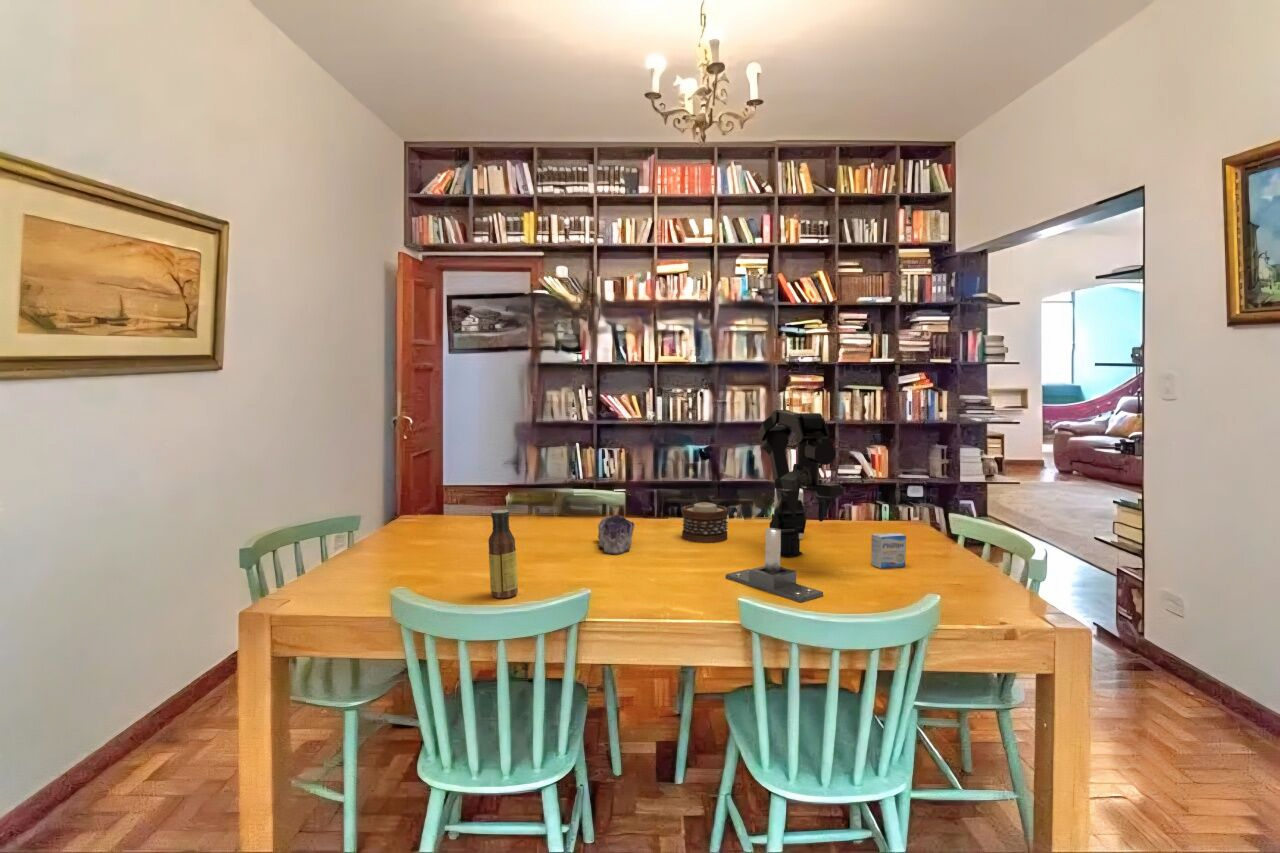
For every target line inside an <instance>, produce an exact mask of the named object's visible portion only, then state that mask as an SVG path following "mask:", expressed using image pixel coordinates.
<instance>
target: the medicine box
mask: <svg viewBox="0 0 1280 853" xmlns="http://www.w3.org/2000/svg"><path fill="white" fill-rule="evenodd" d="M870 547H871V548H870V549H871V553H870V564H871V566H873V567H875V568H877V567H878V568H877V569H880V570H886V569H885V568H887V569H897V568H905V567H906V558H907V557H906V556H907V555H906V554H907V536H906V534H903V533H900V532H888V533H887V532H885V533H871V546H870Z"/></svg>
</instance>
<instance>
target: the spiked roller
mask: <svg viewBox="0 0 1280 853" xmlns="http://www.w3.org/2000/svg"><path fill="white" fill-rule="evenodd" d="M681 512H682V513H681V514H682V515H681V518H682V519H683V520H681V521H682V524H681V525H682V531H681V538H682V539H683V540H684V541H687V542H690V543H696V544H717V543H722V542H726V541H727V540H728V530H729V528H728V527H729V526H728V525H729V524H728V523H730V522H728V521H727V520H728V519H729V517H728V513H729V512H728V507H726V506H723V505H718V504H715V503H712V502H707V501H706V502H703V501H702V502H698V503H694V504H689V505H685V506H683V507H682V511H681Z"/></svg>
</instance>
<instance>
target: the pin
mask: <svg viewBox="0 0 1280 853" xmlns="http://www.w3.org/2000/svg"><path fill="white" fill-rule="evenodd" d="M764 548H765V549H764V550H765V552H764V561H765V562H764V566H765V572H767V573H770V574H773V575H774V574H778V573H780V567H781V555H780V551H781V530H780V529H777V528H770V527H767V528H766V529H765V547H764Z"/></svg>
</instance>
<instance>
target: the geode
mask: <svg viewBox="0 0 1280 853" xmlns="http://www.w3.org/2000/svg"><path fill="white" fill-rule="evenodd" d="M597 528H598V535H597V536H598V537H597V538H598V540H599V541H598V549H603V552H604V554H605V555H609V556H618V555H619V556H620V555H622V554H626V553H628V552H630V548H631V544H632V538H633V532H634V530H635V529H634V528H635V523H634V521H630V520H628V518H626V517H625V516H624V515H623V516H622V515H620V514H615V515H611V516H610V517H606V516H604V517H603V518H602V519H601V520H600V522H599V523H598V525H597Z"/></svg>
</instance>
